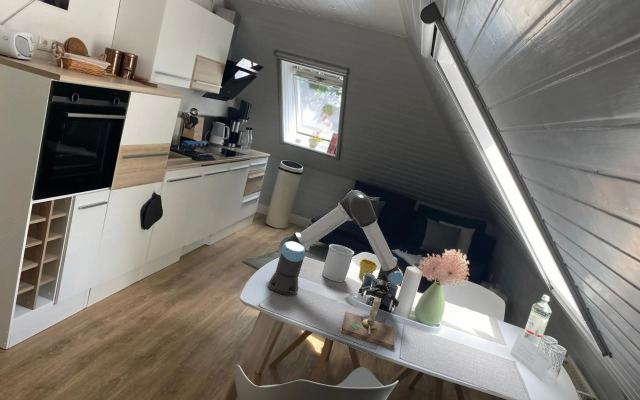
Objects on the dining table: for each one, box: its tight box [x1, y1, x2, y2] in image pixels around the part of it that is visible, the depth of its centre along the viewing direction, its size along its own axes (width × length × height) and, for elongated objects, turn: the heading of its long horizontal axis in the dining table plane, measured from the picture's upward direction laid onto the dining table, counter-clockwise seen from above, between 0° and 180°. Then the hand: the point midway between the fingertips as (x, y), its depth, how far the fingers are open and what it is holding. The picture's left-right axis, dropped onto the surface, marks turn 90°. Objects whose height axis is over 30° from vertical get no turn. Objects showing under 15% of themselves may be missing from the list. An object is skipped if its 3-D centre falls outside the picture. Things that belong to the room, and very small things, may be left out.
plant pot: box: [358, 258, 378, 279], centre depth 305 cm, size 10×10×10 cm
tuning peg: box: [362, 296, 382, 334], centre depth 227 cm, size 7×14×13 cm, turn 173°
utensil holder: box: [321, 243, 355, 283], centre depth 288 cm, size 15×15×18 cm
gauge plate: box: [340, 311, 396, 350], centre depth 230 cm, size 24×20×2 cm
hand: (376, 302), depth 239 cm, fingers open, 13 cm apart
